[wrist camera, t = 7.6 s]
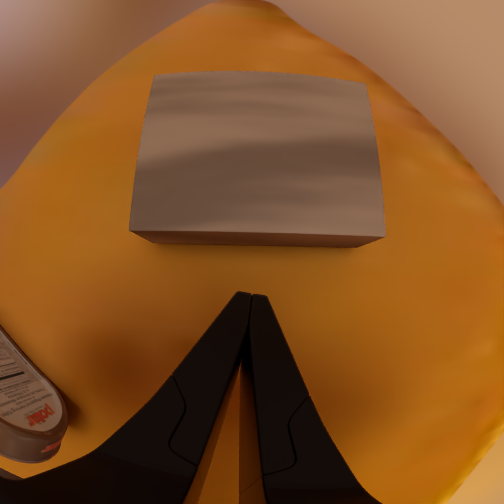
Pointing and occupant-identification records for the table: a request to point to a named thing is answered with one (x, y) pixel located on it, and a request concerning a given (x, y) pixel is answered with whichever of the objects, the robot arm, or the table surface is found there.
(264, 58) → the table surface
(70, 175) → the table surface
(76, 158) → the table surface
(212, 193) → the walnut board
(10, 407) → the tin
